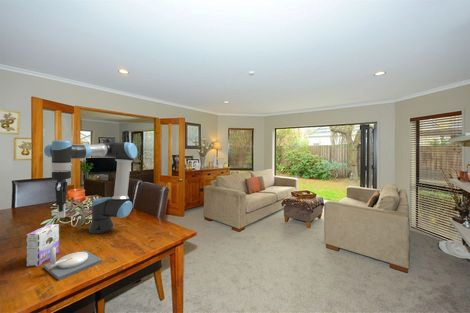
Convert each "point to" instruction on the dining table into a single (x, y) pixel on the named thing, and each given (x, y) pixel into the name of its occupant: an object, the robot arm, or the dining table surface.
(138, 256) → the dining table surface
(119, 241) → the dining table surface
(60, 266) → the dial
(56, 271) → the board
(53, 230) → the candy box
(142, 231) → the dining table surface
